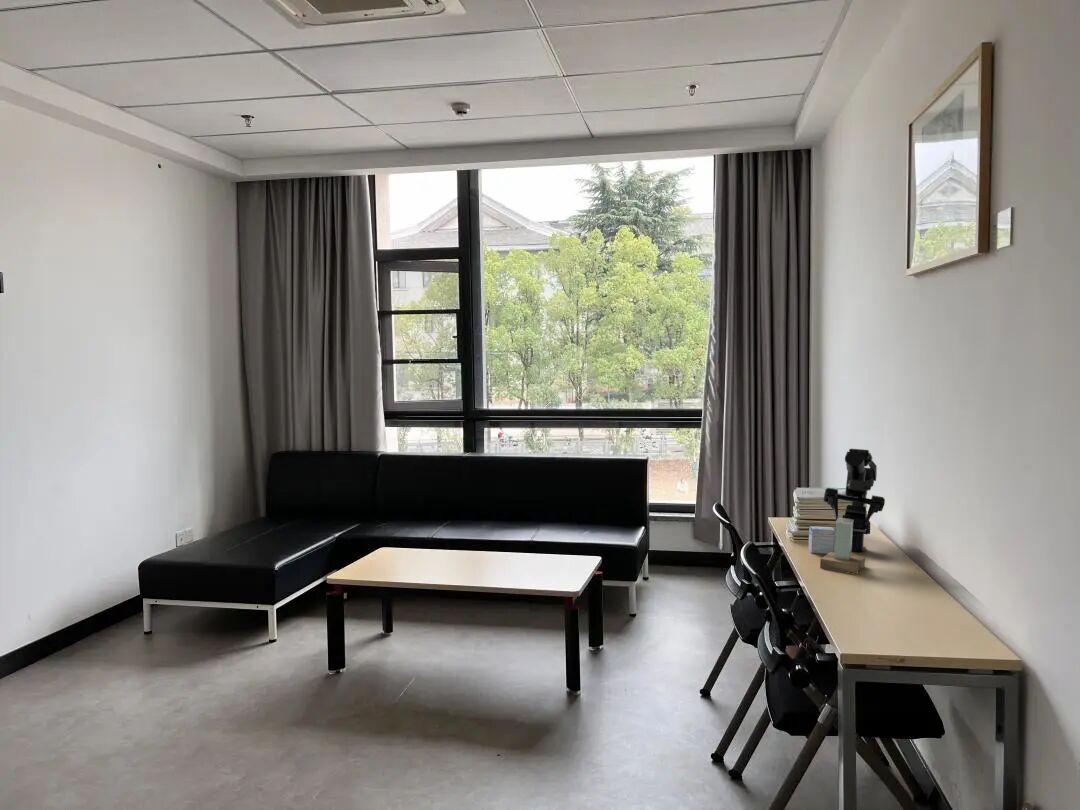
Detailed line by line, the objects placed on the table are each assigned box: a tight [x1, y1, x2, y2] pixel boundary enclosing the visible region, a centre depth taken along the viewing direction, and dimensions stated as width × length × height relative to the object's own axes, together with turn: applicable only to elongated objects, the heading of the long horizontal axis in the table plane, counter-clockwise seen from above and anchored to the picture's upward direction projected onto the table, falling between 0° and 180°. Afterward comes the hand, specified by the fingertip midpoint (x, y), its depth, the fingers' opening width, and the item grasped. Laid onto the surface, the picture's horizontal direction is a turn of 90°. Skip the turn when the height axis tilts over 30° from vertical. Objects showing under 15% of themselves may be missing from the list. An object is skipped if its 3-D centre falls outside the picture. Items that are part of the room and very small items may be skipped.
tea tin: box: [834, 517, 854, 561], centre depth 250 cm, size 5×5×13 cm
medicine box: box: [807, 525, 836, 555], centre depth 269 cm, size 8×4×9 cm, turn 84°
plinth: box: [819, 551, 866, 575], centre depth 251 cm, size 11×11×3 cm
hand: (851, 521), depth 257 cm, fingers open, 9 cm apart
